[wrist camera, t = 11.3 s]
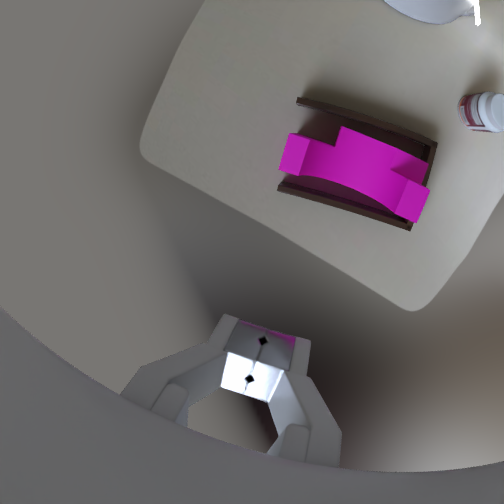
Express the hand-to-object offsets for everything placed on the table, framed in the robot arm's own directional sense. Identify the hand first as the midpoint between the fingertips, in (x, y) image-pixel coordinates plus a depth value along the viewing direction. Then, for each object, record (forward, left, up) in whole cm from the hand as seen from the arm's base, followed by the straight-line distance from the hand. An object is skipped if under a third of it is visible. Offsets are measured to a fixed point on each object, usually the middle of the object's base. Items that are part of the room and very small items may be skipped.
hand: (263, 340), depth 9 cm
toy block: (-5, +4, -28) cm, 29 cm away
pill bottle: (-17, +18, -28) cm, 37 cm away
